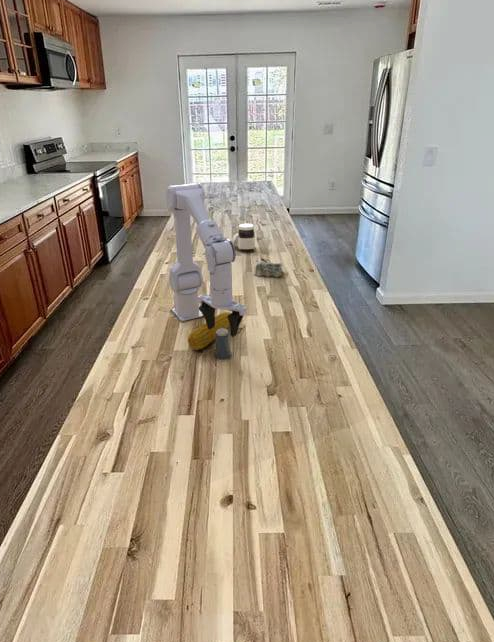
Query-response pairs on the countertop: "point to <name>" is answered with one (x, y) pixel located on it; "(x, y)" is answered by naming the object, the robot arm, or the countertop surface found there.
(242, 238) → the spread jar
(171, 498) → the countertop surface
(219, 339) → the shaker
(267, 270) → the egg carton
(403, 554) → the countertop surface
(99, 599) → the countertop surface
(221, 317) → the food
